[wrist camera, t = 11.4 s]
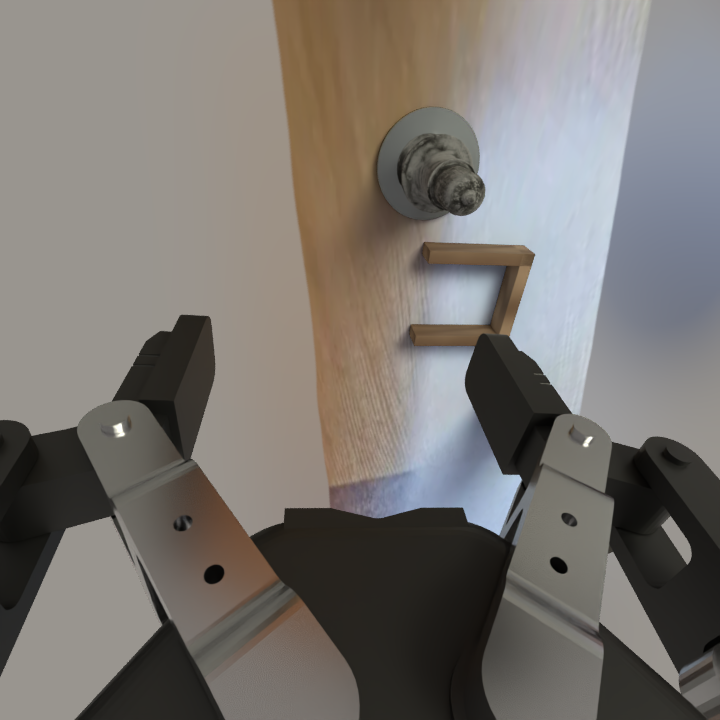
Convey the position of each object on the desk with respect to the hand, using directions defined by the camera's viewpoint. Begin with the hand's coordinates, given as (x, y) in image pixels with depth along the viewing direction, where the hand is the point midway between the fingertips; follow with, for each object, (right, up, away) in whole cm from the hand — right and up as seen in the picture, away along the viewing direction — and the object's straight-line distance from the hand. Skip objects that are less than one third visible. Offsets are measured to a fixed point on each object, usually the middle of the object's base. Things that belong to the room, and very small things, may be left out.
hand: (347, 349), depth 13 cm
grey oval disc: (+6, +17, +24) cm, 30 cm away
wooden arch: (+11, +7, +32) cm, 35 cm away
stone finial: (+6, +17, +24) cm, 30 cm away
